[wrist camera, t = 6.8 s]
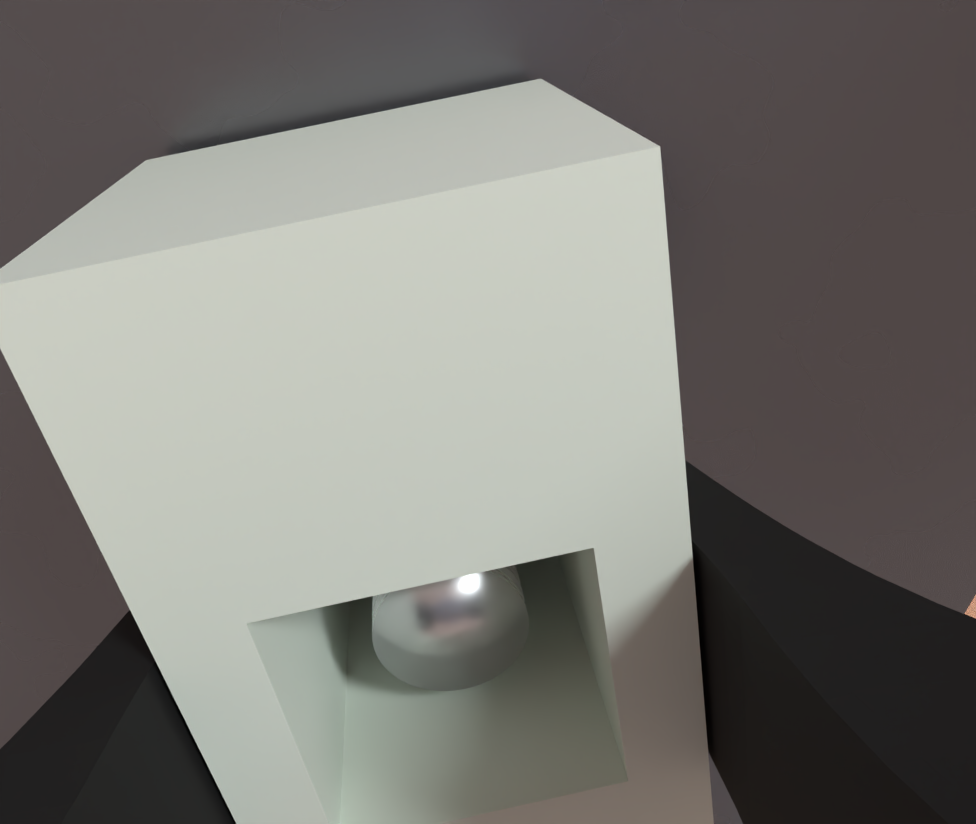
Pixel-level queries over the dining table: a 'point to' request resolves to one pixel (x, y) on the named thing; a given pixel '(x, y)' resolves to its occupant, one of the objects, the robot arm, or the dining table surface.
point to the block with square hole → (389, 453)
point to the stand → (691, 244)
